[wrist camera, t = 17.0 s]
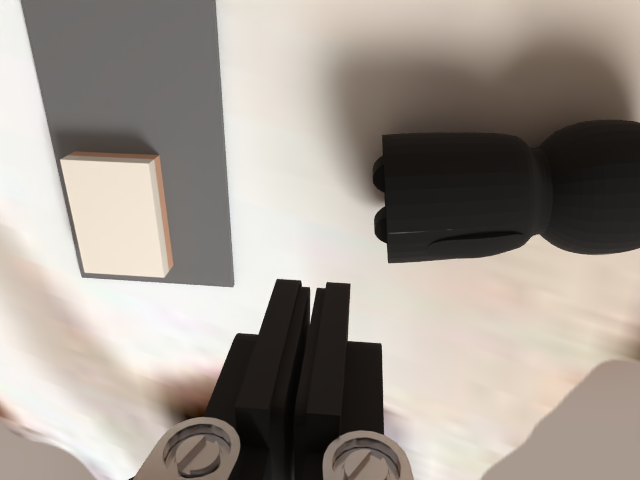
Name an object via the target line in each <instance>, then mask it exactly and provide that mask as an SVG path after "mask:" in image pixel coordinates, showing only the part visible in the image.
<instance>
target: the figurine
mask: <svg viewBox="0 0 640 480" xmlns="http://www.w3.org/2000/svg"><path fill="white" fill-rule="evenodd" d="M382 143H383V156H381V157H380V158H379V159H378V160H377V161H376V162H375V164H374V166H373V183H374V185H375V186H376V187H377V189H379V190H380V191H382V192H384V193H385V207H383V208H382V209H380V210H379V211H378V212H377V214H376V215H375V218H374V228H375V234H376V236H377V238H378V239H379V240H381V241H383V242H385V243H387V253H388V263H405V262H421V261H433V260H446V259H456V258H480V257H486V256H492V255H496V254H500V253H503V252H507V251H510V250H513V249H517V248H519V247H521V246H523V245H524V244H525V243H526V242H527V241H528V240H529V239H530V238H531V237H532V236H533V235H536V234H540V235H541V236H542V237H543V238H544V239H546V240H547V241H548V242H550V243H551V244H553V245H554V246H556V247H558V248H560V249H563V250H566V251H569V252H573V253H579V254H587V255H606V254H613V253H621V252H626V251H631V250H635V249H638V248H640V123H639V122H634V121H623V120H595V121H586V122H581V123H576V124H573V125H570V126H567V127H565V128H563V129H561V130H559V131H557V132H555V133H554V134H552V135H551V136H550V137H548V138H547V139H546V140H545V141H544V142H543V143H542V144H541V145H540V146H539V147H538V148H531V147H529V146H528V145H527V144H526V143H525V142H524V141H523V140H522V139H520V138H518V137H516V136H511V135H506V134H495V133H410V134H391V135H382Z"/></svg>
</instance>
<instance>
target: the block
mask: <svg viewBox="0 0 640 480" xmlns="http://www.w3.org/2000/svg"><path fill="white" fill-rule="evenodd" d="M60 162H61V167H62V171H63V176H64V181H65V185H66V190H67V194H68V199H69V203H70V208H71V213H72V217H73V222H74V226H75V231H76V236H77V240H78V245H79V249H80V254H81V259H82V263H83V268H84V272H85V273H97V274H113V275H129V276H145V277H161V278H165V276H166V275H167V273H168V272H169V271H170V269H171V268H172V266H173V258H172V250H171V242H170V234H169V226H168V219H167V211H166V203H165V195H164V187H163V179H162V172H161V164H160V156H159V155H146V154H123V153H101V152H78V151H75V152H73V153H71V154H69V155H67V156H66V157H64V158H62V159H60Z"/></svg>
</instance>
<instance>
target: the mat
mask: <svg viewBox="0 0 640 480" xmlns="http://www.w3.org/2000/svg"><path fill="white" fill-rule="evenodd" d="M21 3H22V7H23V12H24V17H25V21H26V26H27V30H28V35H29V39H30V44H31V48H32V53H33V57H34V62H35V67H36V71H37V76H38V80H39V85H40V89H41V94H42V98H43V103H44V107H45V112H46V117H47V121H48V126H49V130H50V135H51V139H52V144H53V148H54V153H55V158H56V162H57V167H58V171H59V176H60V180H61V185H62V189H63V194H64V198H65V203H66V208H67V212H68V217H69V221H70V226H71V230H72V235H73V239H74V244H75V248H76V253H77V258H78V262H79V267H80V271H81V276H82V277H83V278H98V279H114V280H129V281H145V282H160V283H176V284H191V285H207V286H222V287H233V286H234V272H233V257H232V242H231V227H230V212H229V197H228V182H227V167H226V152H225V137H224V122H223V107H222V92H221V77H220V62H219V47H218V32H217V17H216V2H215V0H21ZM75 151H78V152H101V153H123V154H146V155H159V156H160V164H161V172H162V179H163V187H164V195H165V203H166V211H167V219H168V226H169V234H170V242H171V250H172V258H173V266H172V268H171V269H170V271H169V272H168V273H167V275H166V276H165V278H161V277H145V276H129V275H113V274H97V273H85V272H84V268H83V263H82V259H81V254H80V249H79V245H78V240H77V236H76V231H75V226H74V222H73V217H72V213H71V208H70V203H69V199H68V194H67V190H66V185H65V181H64V176H63V171H62V167H61V162H60V159H62V158H64V157H66V156H67V155H69V154H71V153H73V152H75Z"/></svg>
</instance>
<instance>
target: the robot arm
mask: <svg viewBox="0 0 640 480" xmlns="http://www.w3.org/2000/svg"><path fill="white" fill-rule="evenodd" d="M349 303H350V284H348V283H332V282H327V283H326V288H317V290H316V295H315V301H314V306H313V311H312V317H311V322H310V287H302V283H301V281H300V280H284V279H277V280H276V283H275V286H274V289H273V292H272V295H271V298H270V301H269V304H268V307H267V310H266V313H265V316H264V319H263V322H262V325H261V328H260V332H259V335H256V334H242V333H238V334H237V335H236V336H235V338H234V340H233V343H232V345H231V348H230V350H229V353H228V355H227V358H226V360H225V363H224V366H223V368H222V371H221V373H220V376H219V378H218V381H217V383H216V386H215V388H214V391H213V393H212V396H211V399H210V401H209V404H208V406H207V409H206V411H205V414H204V416H203V417H200V418H194V419H189V420H187V421H184V422H181V423H179V424H177V425H176V426H174V427H173V428H171V429H170V430H168V431H167V432H166V433H165V434H164V435H163V436H162V437H161V439H160V440H159V441H158V442H157V444H156V445H155V447H154V448H153V450H152V451H151V453H150V454H149V456H148V457H147V459H146V460H145V462H144V463H143V465H142V466H141V468H140V469H139V471H138V472H137V474H136V475H135V476H134V477H132V478H131V479H129V480H414V478H413V474H412V470H411V466H410V463H409V460H408V458H407V456H406V454H405V452H404V451H403V449H402V448H401V447H400V446H399V445H398V444H397V443H396V442H395V441H393V440H392V439H390V438H388V437H387V436H385V435H384V417H383V376H382V345H381V343H367V342H353V341H348V322H349Z"/></svg>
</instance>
